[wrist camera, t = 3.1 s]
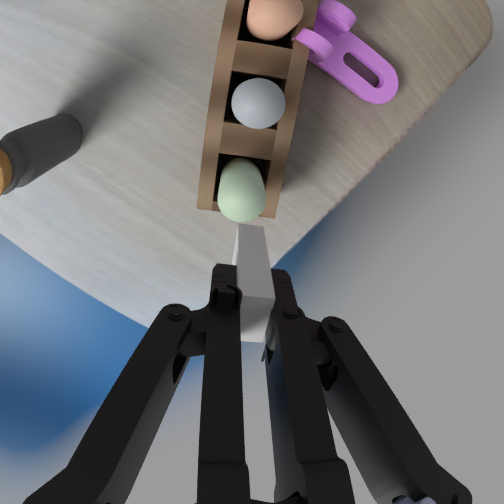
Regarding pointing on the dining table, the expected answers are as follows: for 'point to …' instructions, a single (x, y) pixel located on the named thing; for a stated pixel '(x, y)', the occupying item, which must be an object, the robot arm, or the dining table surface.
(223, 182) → the green rounded cylinder
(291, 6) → the brown egg
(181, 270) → the dining table surface
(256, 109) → the grey rounded cylinder
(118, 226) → the dining table surface
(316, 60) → the bracket
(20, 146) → the bottle
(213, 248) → the dining table surface
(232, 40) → the walnut rack
